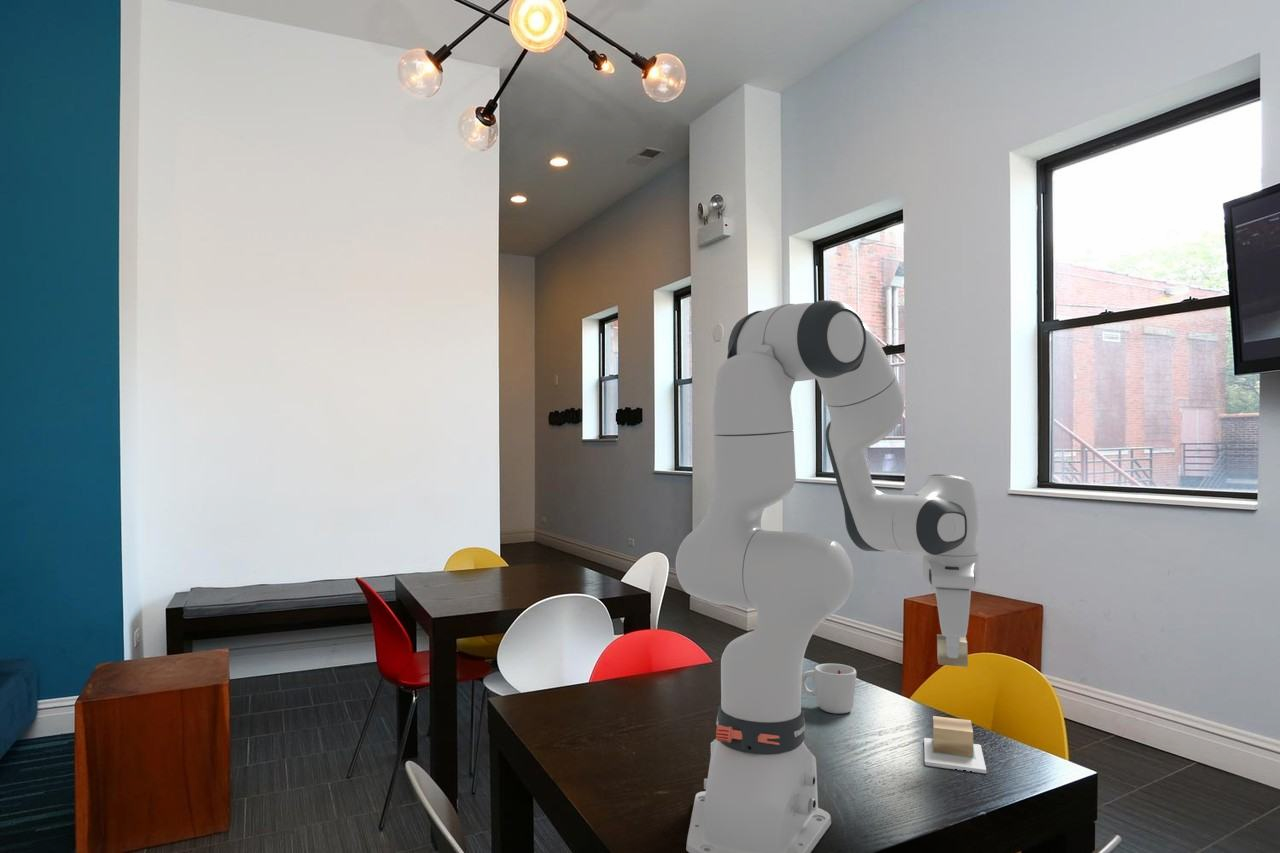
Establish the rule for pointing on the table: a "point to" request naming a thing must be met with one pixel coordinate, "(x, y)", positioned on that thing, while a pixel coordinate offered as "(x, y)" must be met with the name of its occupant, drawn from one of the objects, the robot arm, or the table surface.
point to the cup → (832, 687)
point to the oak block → (953, 736)
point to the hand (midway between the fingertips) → (951, 652)
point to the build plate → (954, 759)
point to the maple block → (942, 652)
